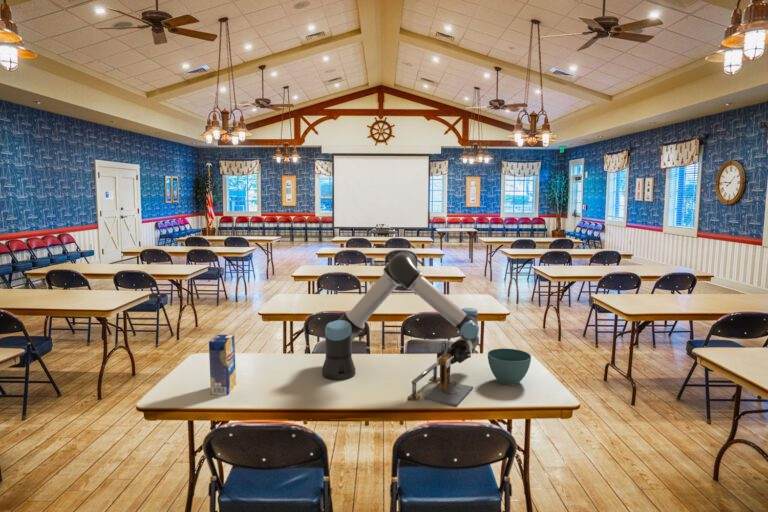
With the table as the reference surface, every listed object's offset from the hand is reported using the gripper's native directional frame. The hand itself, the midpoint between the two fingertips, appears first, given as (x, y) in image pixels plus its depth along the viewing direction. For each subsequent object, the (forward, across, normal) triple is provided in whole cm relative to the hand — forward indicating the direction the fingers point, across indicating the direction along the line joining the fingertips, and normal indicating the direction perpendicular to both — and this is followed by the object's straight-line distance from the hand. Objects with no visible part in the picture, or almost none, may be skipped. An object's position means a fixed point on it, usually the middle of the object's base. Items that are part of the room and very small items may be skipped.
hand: (442, 363), depth 199 cm
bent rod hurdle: (-3, +8, -14) cm, 16 cm away
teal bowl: (-28, -20, -14) cm, 37 cm away
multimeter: (-4, -4, -11) cm, 12 cm away
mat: (-3, -2, -13) cm, 14 cm away
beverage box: (+37, +82, -14) cm, 91 cm away
